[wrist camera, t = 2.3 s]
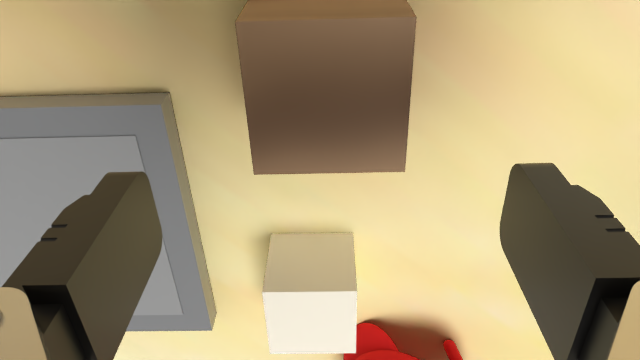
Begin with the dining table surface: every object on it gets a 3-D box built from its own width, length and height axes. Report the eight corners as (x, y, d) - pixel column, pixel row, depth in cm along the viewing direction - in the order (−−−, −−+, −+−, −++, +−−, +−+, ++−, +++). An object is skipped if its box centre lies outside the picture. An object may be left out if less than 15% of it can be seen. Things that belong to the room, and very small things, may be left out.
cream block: (271, 232, 24) (262, 292, 21) (352, 231, 24) (357, 291, 20) (277, 291, 26) (270, 353, 23) (352, 290, 26) (355, 353, 23)
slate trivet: (-140, 100, 20) (-166, 113, 19) (169, 92, 20) (160, 105, 19) (-14, 315, 27) (-28, 333, 26) (216, 313, 27) (211, 331, 26)
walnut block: (257, -15, 18) (235, 21, 14) (395, -20, 18) (416, 16, 13) (269, 111, 20) (254, 174, 16) (388, 108, 20) (404, 171, 16)
